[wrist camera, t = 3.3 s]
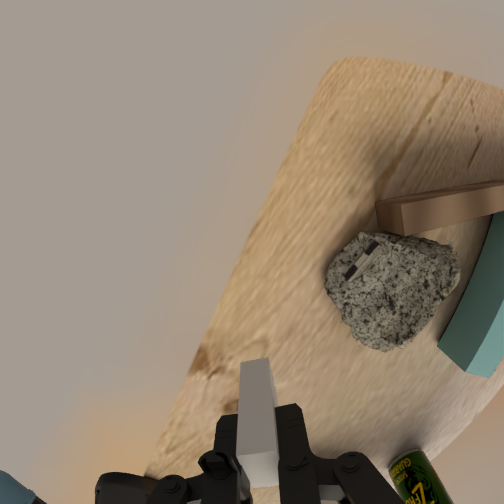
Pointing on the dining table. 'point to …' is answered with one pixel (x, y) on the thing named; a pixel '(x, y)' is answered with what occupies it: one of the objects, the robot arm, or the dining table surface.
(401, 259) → the rock sample
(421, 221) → the walnut wall
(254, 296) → the dining table surface
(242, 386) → the robot arm
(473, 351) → the grey teal angled block
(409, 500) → the beer can
